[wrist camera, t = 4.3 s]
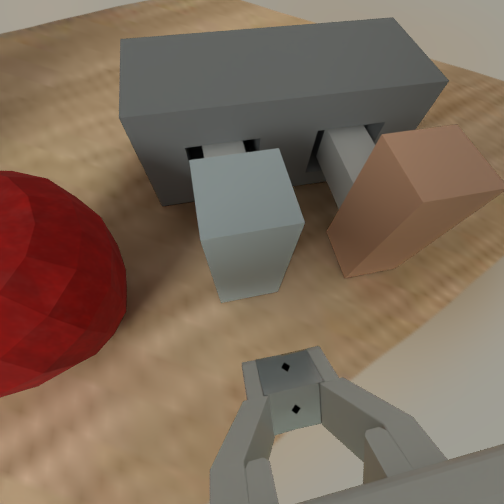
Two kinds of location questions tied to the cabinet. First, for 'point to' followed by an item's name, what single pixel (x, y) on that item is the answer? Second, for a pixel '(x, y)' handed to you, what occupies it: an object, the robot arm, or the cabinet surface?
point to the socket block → (268, 93)
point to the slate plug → (245, 218)
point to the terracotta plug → (400, 191)
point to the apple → (53, 282)
